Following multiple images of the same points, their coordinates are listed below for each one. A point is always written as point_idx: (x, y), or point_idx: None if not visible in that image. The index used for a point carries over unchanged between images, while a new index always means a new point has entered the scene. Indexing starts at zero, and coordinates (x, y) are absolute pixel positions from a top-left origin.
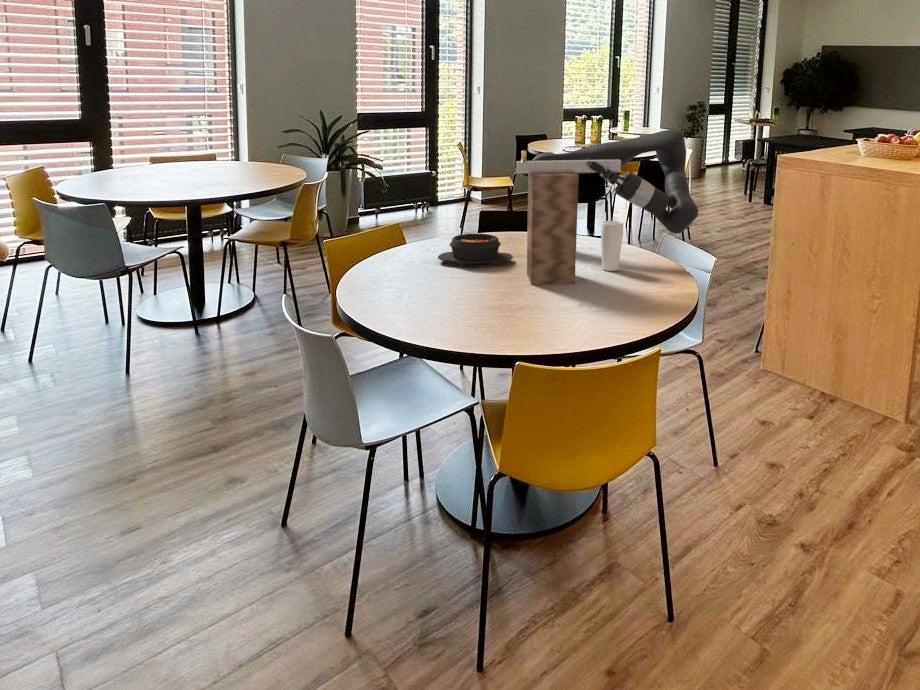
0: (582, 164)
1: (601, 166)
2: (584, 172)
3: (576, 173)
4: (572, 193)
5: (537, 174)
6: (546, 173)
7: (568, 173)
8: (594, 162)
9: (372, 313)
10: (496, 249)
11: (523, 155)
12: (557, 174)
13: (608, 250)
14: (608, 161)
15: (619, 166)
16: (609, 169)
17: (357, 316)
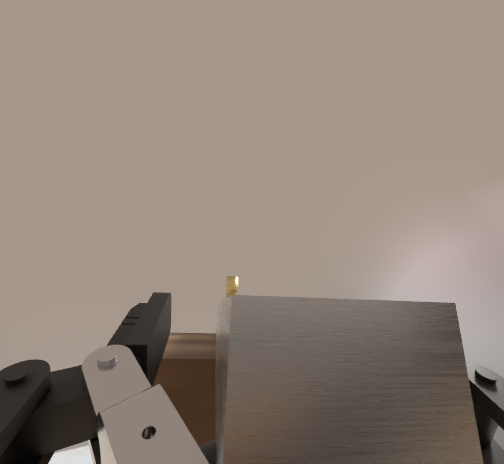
0: (218, 319)
1: (132, 335)
2: (215, 369)
3: (181, 358)
4: None
5: (187, 334)
6: (205, 338)
7: (191, 351)
8: (152, 300)
9: (66, 461)
10: None
11: (226, 287)
12: (170, 343)
13: None
14: (223, 306)
15: (221, 430)
16: (12, 370)
17: (64, 452)
